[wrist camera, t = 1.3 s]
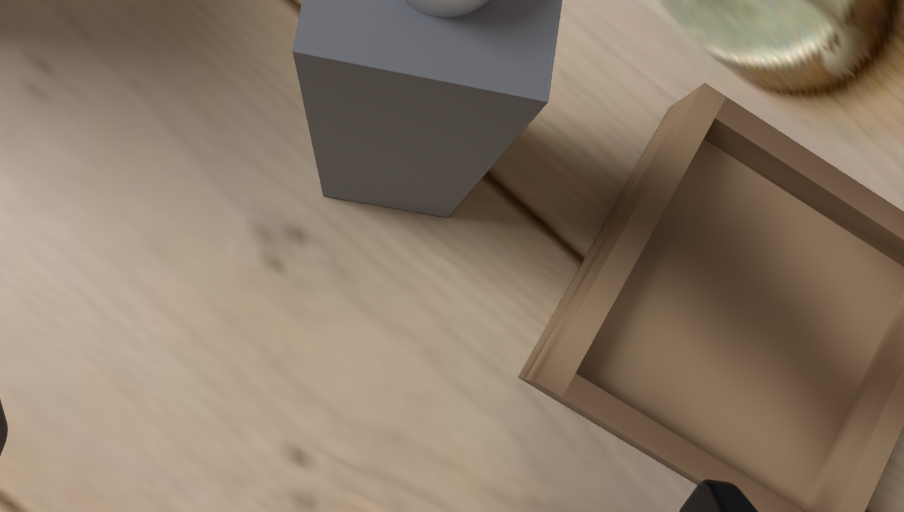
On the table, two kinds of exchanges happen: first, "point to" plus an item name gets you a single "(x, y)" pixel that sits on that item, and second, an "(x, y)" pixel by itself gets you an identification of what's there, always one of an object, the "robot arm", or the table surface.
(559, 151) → the table surface
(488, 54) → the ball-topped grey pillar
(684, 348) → the wooden tray
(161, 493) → the table surface
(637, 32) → the table surface
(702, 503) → the robot arm
